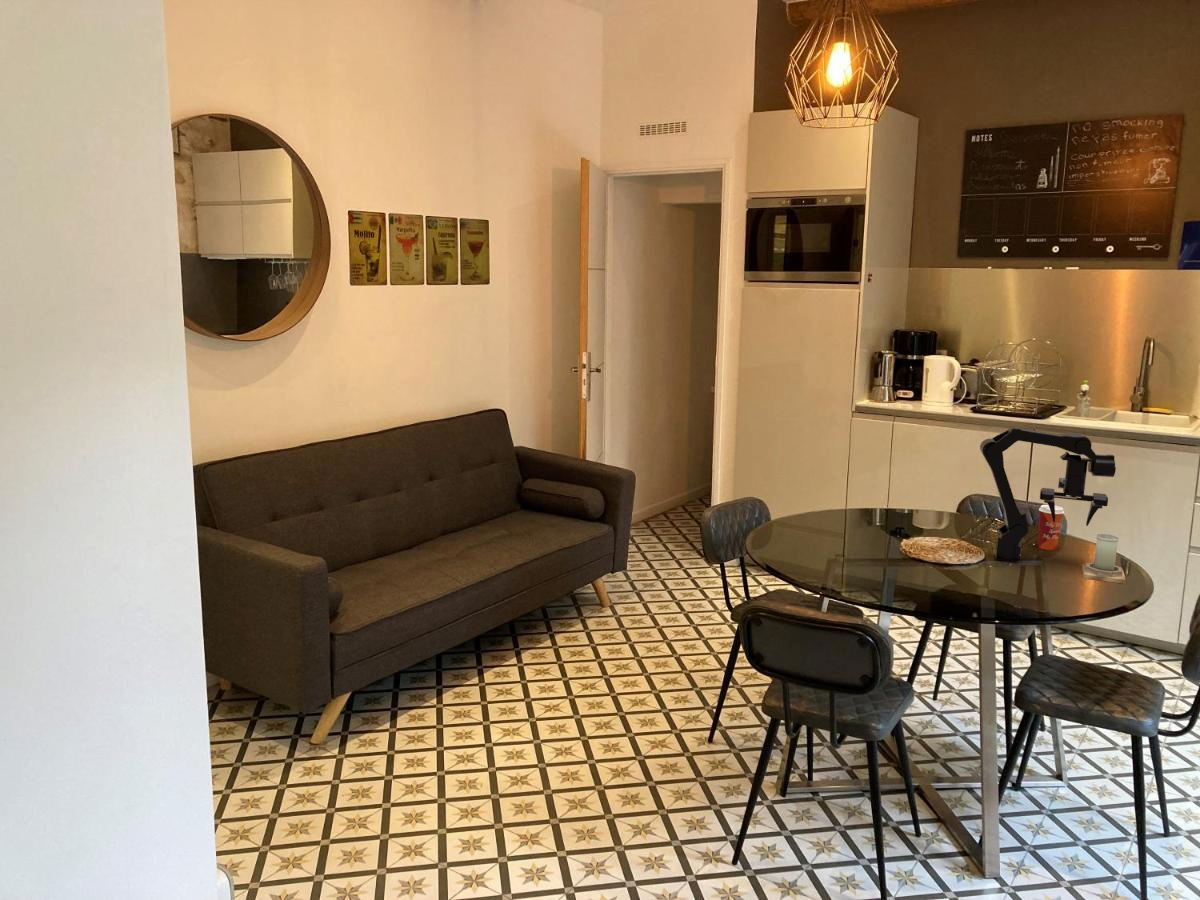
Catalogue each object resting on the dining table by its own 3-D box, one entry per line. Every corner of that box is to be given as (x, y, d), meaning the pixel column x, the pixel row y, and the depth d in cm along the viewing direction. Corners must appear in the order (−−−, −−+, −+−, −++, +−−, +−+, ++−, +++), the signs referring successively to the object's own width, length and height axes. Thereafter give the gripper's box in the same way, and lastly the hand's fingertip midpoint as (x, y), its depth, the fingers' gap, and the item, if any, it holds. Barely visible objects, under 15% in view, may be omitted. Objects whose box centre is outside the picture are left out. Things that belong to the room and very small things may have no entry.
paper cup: (1045, 552, 308) (1050, 510, 305) (1029, 545, 315) (1033, 504, 313) (1065, 550, 310) (1070, 509, 307) (1049, 544, 317) (1053, 503, 315)
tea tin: (1099, 575, 281) (1104, 539, 279) (1088, 568, 287) (1092, 534, 284) (1118, 574, 281) (1122, 539, 279) (1107, 568, 287) (1111, 534, 285)
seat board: (1083, 578, 281) (1084, 569, 281) (1081, 568, 291) (1082, 559, 291) (1125, 583, 277) (1126, 574, 276) (1122, 573, 287) (1123, 564, 286)
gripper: (1108, 473, 293) (1102, 521, 296) (1042, 467, 301) (1037, 514, 304) (1110, 479, 283) (1104, 529, 286) (1042, 473, 291) (1037, 522, 294)
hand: (1070, 523), depth 293 cm, fingers open, 9 cm apart
